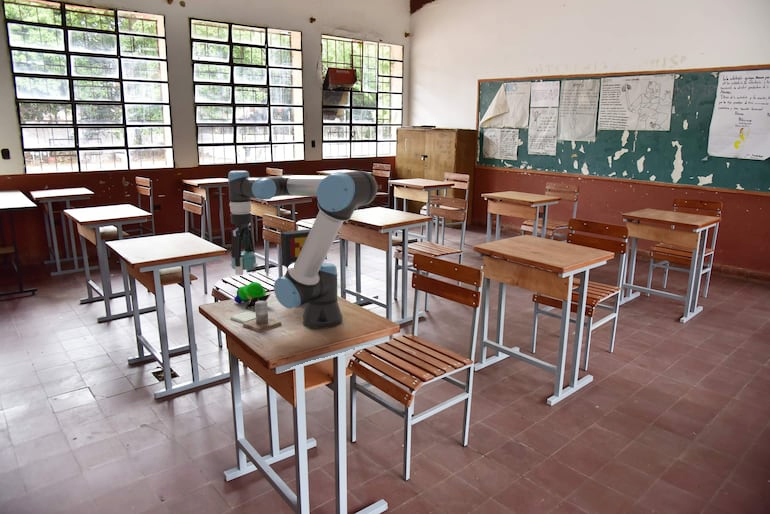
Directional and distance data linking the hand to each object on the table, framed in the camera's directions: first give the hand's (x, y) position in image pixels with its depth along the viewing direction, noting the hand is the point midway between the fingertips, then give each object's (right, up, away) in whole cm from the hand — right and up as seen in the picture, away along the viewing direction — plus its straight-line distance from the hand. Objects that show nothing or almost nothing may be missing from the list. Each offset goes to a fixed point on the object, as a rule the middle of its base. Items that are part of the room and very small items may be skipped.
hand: (244, 271), depth 206 cm
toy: (-2, -15, +21) cm, 25 cm away
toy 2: (+18, -13, +27) cm, 35 cm away
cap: (0, +2, 0) cm, 2 cm away
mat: (0, -18, +4) cm, 19 cm away
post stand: (+8, -20, -4) cm, 22 cm away
